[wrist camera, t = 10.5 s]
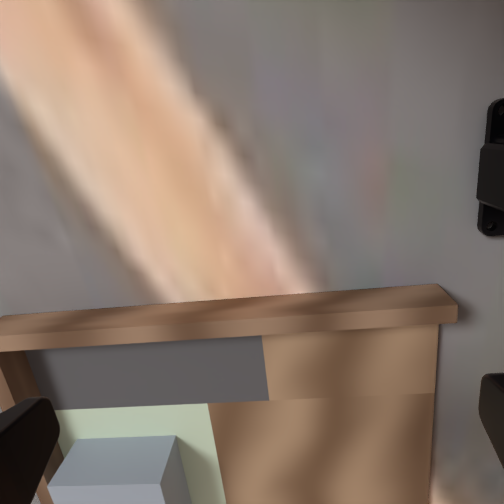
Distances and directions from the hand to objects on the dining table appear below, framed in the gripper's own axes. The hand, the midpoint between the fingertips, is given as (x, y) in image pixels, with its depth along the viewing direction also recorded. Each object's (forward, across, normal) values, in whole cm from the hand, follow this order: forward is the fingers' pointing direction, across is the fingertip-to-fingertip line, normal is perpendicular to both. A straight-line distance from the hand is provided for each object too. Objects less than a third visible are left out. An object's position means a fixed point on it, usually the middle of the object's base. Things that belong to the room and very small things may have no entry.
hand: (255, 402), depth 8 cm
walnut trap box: (+13, +4, +17) cm, 22 cm away
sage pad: (+13, +11, +17) cm, 24 cm away
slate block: (+12, +11, +17) cm, 24 cm away
